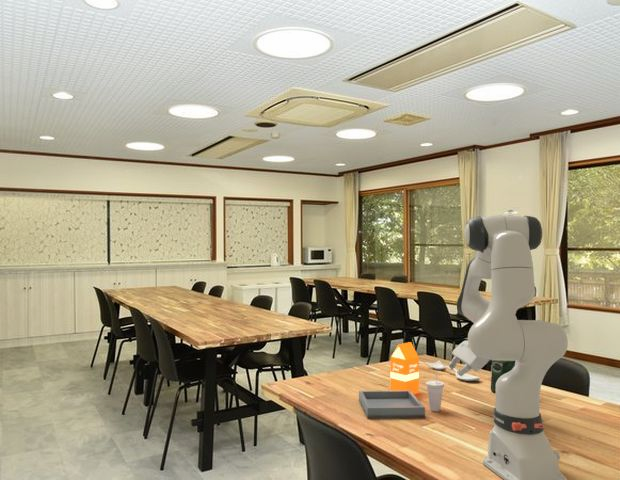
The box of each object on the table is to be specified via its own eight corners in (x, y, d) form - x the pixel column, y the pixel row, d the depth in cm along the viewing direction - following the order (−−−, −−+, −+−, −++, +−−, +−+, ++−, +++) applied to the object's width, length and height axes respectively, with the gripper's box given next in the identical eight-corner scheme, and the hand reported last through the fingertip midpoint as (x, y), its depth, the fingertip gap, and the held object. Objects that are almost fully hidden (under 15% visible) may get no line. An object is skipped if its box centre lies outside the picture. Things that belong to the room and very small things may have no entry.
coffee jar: (520, 394, 195) (520, 348, 195) (506, 397, 192) (506, 350, 192) (501, 388, 204) (500, 344, 204) (487, 391, 200) (487, 345, 200)
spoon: (438, 366, 243) (438, 359, 243) (484, 382, 213) (484, 375, 213) (423, 368, 239) (423, 361, 240) (468, 385, 210) (468, 377, 210)
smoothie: (444, 413, 173) (444, 373, 174) (426, 411, 175) (426, 372, 175) (443, 407, 180) (443, 369, 180) (425, 406, 181) (425, 368, 181)
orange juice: (390, 392, 198) (390, 343, 198) (403, 388, 204) (403, 340, 204) (405, 397, 192) (405, 346, 192) (419, 392, 198) (419, 343, 198)
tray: (424, 417, 169) (424, 407, 169) (367, 418, 168) (367, 408, 168) (410, 399, 189) (410, 390, 189) (358, 400, 188) (358, 391, 188)
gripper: (464, 332, 189) (439, 358, 188) (485, 343, 168) (457, 372, 168) (475, 344, 189) (450, 369, 188) (498, 356, 168) (470, 385, 168)
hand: (454, 371), depth 178 cm, fingers open, 8 cm apart
